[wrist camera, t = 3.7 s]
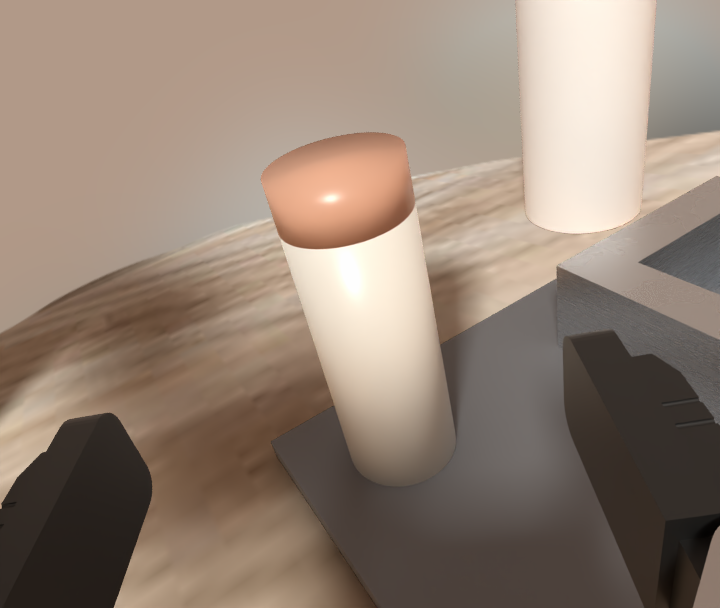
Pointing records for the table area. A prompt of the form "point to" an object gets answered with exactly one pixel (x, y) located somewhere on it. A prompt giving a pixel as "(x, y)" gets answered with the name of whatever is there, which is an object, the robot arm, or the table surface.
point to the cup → (584, 110)
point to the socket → (655, 289)
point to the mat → (476, 487)
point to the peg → (367, 299)
